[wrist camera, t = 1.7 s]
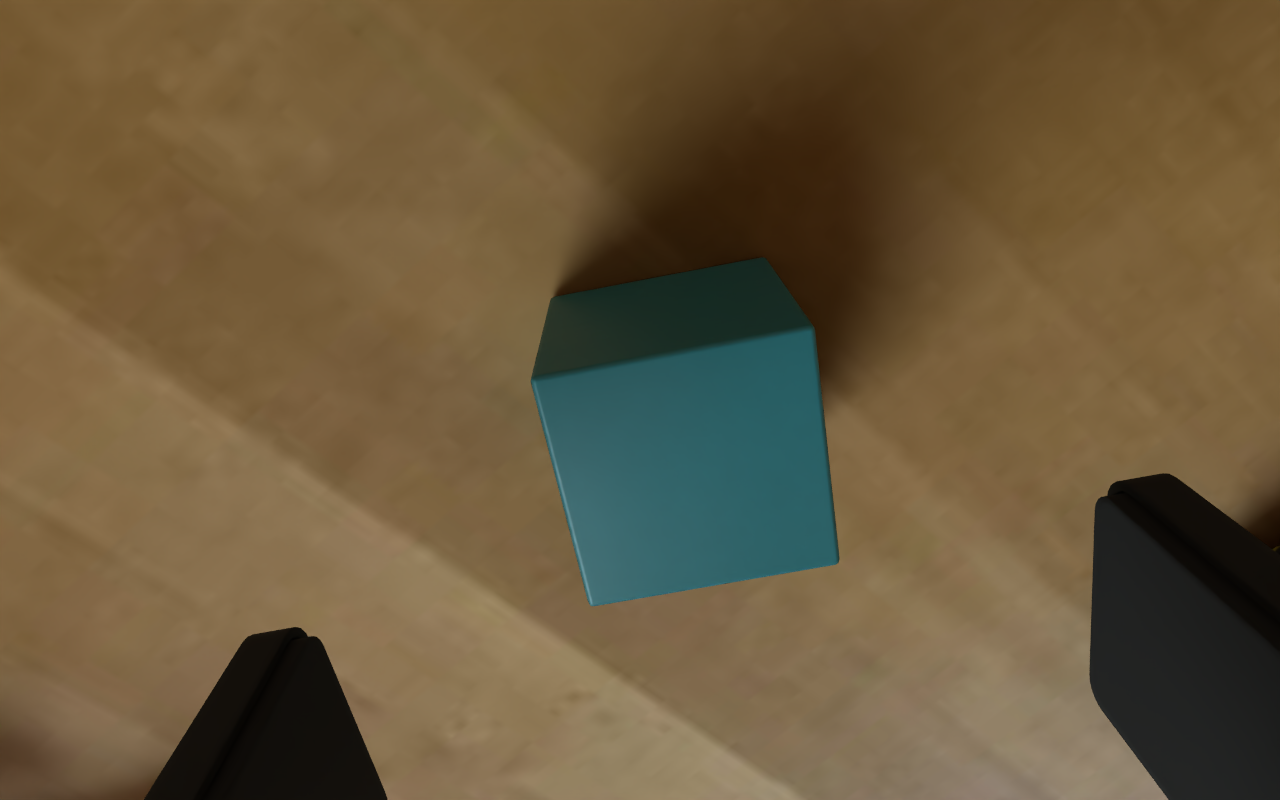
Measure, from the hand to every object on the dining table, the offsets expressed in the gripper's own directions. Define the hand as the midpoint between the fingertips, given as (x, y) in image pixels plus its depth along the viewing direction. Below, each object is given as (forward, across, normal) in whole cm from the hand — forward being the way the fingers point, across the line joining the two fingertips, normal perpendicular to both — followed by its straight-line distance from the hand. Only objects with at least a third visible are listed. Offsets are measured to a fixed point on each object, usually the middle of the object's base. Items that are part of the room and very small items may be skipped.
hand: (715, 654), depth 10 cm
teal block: (+8, 0, 0) cm, 8 cm away
